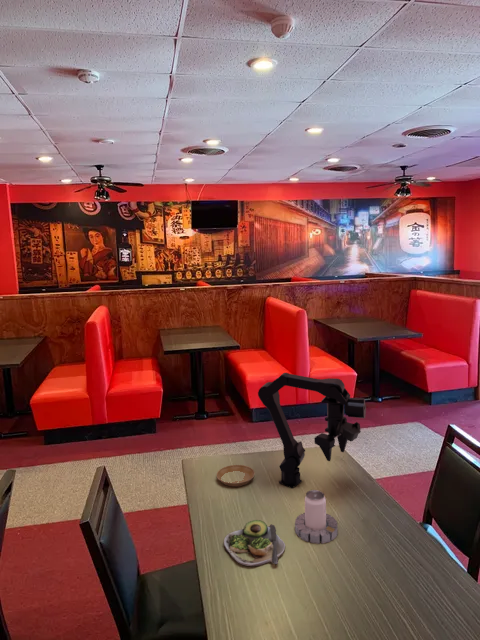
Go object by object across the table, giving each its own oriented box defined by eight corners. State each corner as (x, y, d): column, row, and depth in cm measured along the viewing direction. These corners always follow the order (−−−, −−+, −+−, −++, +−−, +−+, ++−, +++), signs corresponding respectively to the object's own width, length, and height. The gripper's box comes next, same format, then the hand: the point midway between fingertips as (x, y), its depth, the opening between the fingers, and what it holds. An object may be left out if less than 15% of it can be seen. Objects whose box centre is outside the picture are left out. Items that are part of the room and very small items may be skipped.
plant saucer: (208, 481, 179) (208, 475, 179) (234, 467, 190) (233, 461, 190) (237, 493, 169) (237, 487, 169) (262, 477, 180) (262, 471, 180)
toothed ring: (287, 532, 145) (286, 523, 145) (310, 513, 155) (310, 506, 154) (322, 549, 137) (322, 540, 136) (345, 528, 146) (345, 520, 146)
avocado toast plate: (301, 560, 133) (301, 545, 132) (244, 580, 125) (244, 565, 125) (269, 524, 150) (268, 511, 149) (218, 541, 143) (217, 527, 142)
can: (325, 524, 149) (325, 489, 147) (326, 536, 142) (326, 500, 140) (304, 523, 149) (304, 489, 147) (305, 536, 143) (304, 500, 141)
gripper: (341, 428, 152) (341, 472, 155) (369, 412, 166) (368, 453, 168) (313, 420, 160) (313, 463, 162) (341, 405, 173) (341, 445, 176)
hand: (335, 456), depth 167 cm, fingers open, 9 cm apart
